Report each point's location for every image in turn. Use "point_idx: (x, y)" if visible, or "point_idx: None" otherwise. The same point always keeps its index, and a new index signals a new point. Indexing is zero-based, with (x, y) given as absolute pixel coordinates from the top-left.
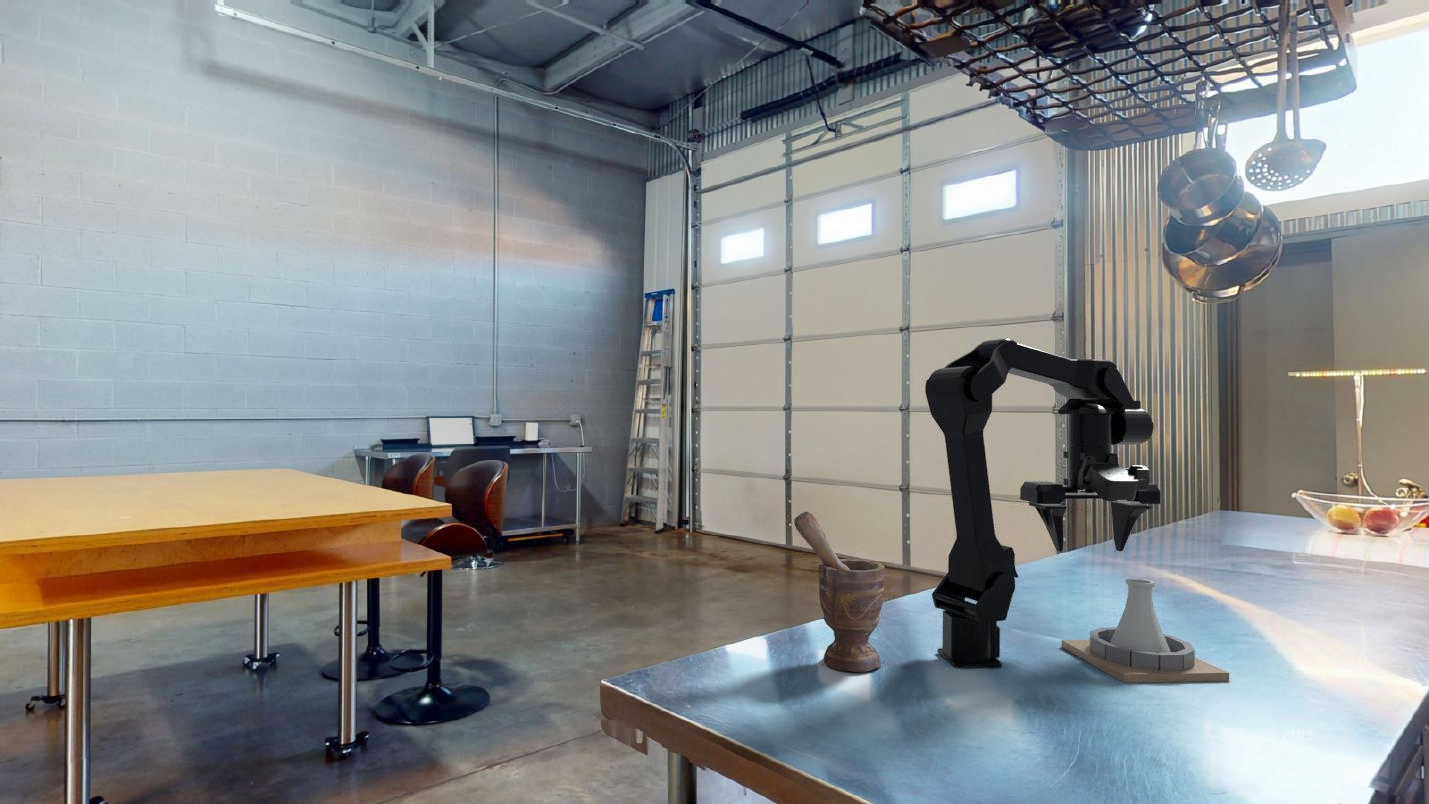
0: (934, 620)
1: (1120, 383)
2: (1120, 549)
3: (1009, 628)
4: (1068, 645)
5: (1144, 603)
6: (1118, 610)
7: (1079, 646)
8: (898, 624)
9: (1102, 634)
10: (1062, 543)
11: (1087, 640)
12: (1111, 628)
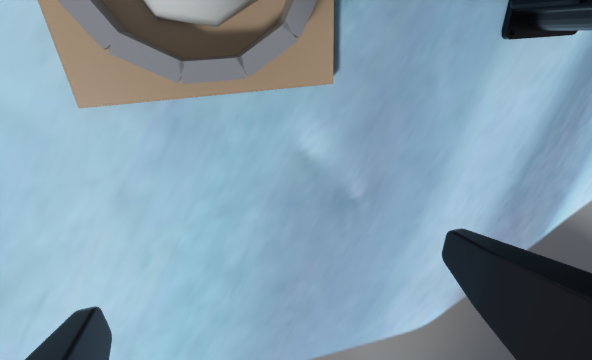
0: (457, 222)
1: None
2: (92, 314)
3: (362, 197)
4: (332, 51)
5: None
6: None
7: (318, 30)
8: (520, 192)
9: (261, 39)
10: (491, 250)
11: (274, 81)
12: (222, 69)
